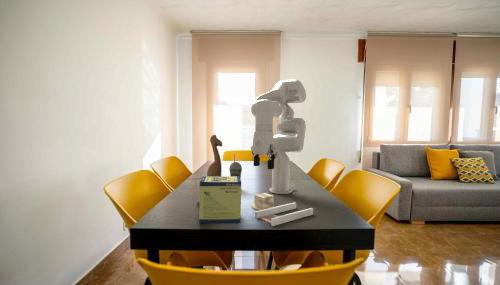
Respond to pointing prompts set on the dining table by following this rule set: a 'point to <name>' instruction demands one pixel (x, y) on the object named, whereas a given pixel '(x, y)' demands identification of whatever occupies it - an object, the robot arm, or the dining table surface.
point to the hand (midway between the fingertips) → (263, 167)
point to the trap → (268, 217)
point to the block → (264, 200)
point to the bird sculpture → (215, 167)
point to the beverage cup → (235, 169)
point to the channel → (284, 217)
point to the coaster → (259, 207)
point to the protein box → (220, 200)
